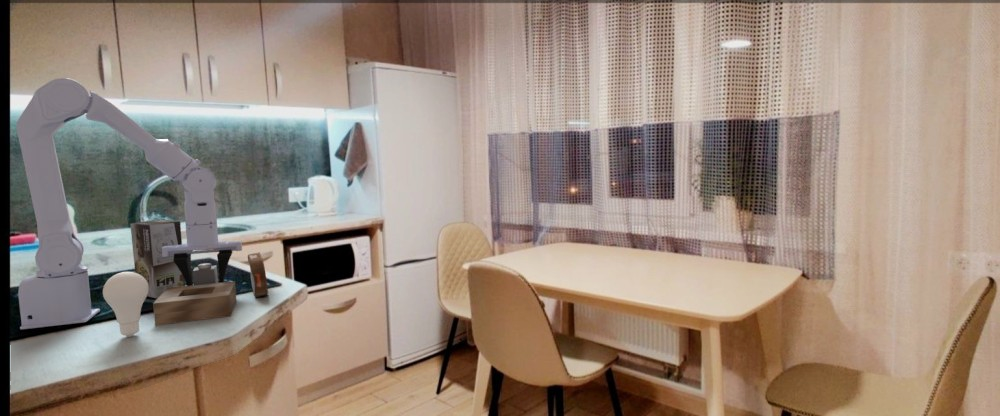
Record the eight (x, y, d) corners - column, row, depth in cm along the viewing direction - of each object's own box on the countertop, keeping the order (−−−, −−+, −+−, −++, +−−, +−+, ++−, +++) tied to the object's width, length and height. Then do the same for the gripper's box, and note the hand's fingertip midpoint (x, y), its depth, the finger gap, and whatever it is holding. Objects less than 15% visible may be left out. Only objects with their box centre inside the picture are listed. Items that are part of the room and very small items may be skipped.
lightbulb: (111, 334, 86) (104, 270, 85) (154, 328, 89) (148, 266, 88) (104, 345, 80) (97, 278, 79) (150, 338, 83) (144, 273, 82)
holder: (154, 325, 90) (153, 303, 90) (169, 307, 101) (167, 287, 101) (230, 316, 95) (229, 295, 94) (236, 299, 106) (235, 281, 105)
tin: (269, 299, 106) (266, 260, 105) (252, 301, 105) (250, 261, 104) (263, 284, 119) (261, 249, 118) (248, 286, 118) (246, 250, 117)
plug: (194, 301, 105) (192, 267, 105) (197, 296, 109) (195, 263, 108) (216, 299, 107) (214, 265, 106) (218, 294, 111) (216, 261, 110)
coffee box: (187, 292, 113) (181, 220, 111) (155, 299, 107) (149, 224, 106) (167, 287, 118) (161, 218, 116) (135, 294, 112) (129, 222, 111)
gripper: (156, 228, 100) (162, 295, 101) (238, 223, 106) (242, 286, 107) (164, 224, 106) (169, 287, 108) (241, 219, 112) (245, 279, 113)
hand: (206, 286), depth 108 cm, fingers open, 5 cm apart
